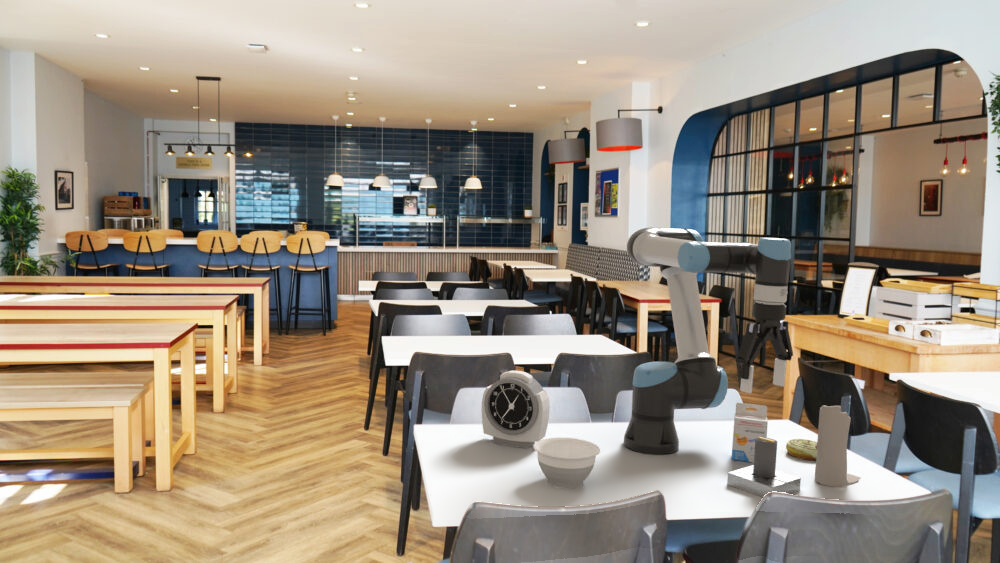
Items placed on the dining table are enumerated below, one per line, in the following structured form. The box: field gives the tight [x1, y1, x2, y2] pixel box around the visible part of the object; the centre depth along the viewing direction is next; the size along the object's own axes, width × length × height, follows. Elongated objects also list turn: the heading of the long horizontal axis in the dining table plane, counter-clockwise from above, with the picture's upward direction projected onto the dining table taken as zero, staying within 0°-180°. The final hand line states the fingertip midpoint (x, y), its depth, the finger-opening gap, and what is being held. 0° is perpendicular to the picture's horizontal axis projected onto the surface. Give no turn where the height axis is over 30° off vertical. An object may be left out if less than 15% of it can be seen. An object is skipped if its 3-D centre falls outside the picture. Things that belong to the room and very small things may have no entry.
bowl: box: [532, 437, 601, 489], centre depth 182 cm, size 16×16×8 cm
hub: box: [726, 464, 802, 498], centre depth 184 cm, size 12×12×3 cm
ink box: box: [731, 402, 769, 464], centre depth 205 cm, size 8×5×15 cm, turn 73°
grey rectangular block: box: [753, 437, 778, 480], centre depth 184 cm, size 5×5×11 cm
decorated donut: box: [785, 438, 817, 461], centre depth 211 cm, size 10×11×4 cm
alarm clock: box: [481, 370, 550, 450], centre depth 211 cm, size 18×8×20 cm, turn 68°
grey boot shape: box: [814, 404, 861, 488], centre depth 191 cm, size 7×14×20 cm, turn 123°
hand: (762, 388), depth 186 cm, fingers open, 13 cm apart
